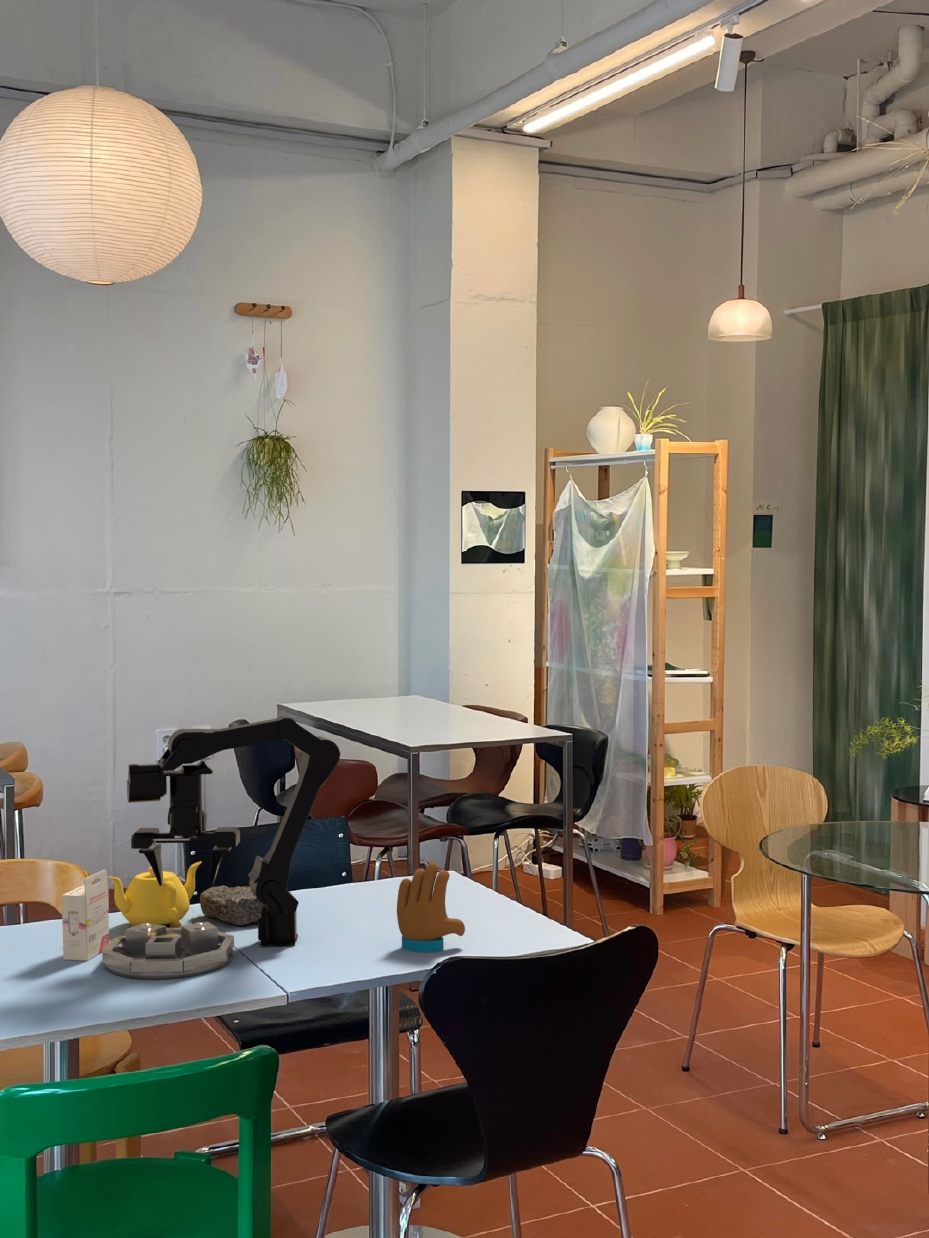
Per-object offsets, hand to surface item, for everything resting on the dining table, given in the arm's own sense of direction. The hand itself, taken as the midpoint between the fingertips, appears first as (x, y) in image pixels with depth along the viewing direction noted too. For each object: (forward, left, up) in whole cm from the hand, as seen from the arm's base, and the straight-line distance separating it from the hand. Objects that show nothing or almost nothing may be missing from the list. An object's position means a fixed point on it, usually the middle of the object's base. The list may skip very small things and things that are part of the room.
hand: (186, 884), depth 228 cm
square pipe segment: (+2, +11, -11) cm, 16 cm away
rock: (-6, -23, -12) cm, 27 cm away
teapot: (+9, -18, -12) cm, 23 cm away
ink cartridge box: (+18, +1, -12) cm, 22 cm away
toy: (-44, 0, -12) cm, 46 cm away
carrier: (+2, +6, -12) cm, 14 cm away
